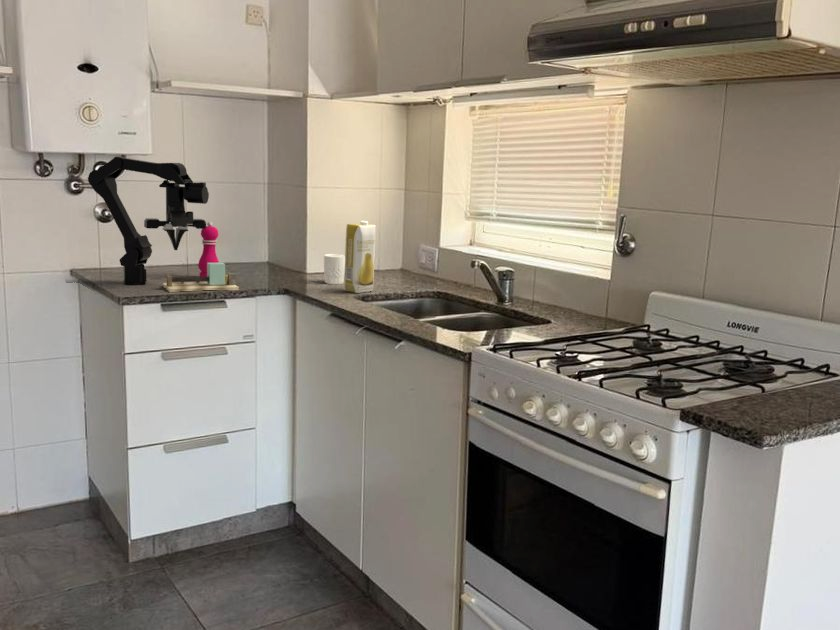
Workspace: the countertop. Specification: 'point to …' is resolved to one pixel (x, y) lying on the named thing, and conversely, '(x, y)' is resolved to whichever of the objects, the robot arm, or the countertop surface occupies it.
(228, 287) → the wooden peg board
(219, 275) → the sleeve
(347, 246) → the juice carton
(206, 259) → the pepper mill
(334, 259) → the white cup
